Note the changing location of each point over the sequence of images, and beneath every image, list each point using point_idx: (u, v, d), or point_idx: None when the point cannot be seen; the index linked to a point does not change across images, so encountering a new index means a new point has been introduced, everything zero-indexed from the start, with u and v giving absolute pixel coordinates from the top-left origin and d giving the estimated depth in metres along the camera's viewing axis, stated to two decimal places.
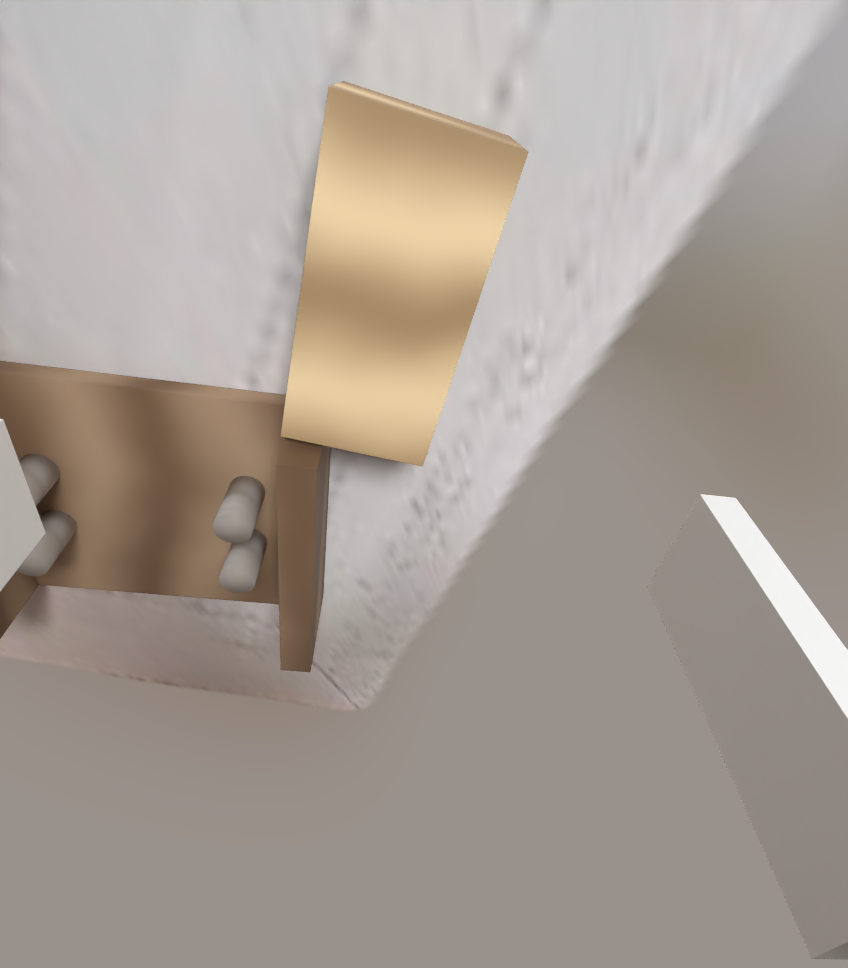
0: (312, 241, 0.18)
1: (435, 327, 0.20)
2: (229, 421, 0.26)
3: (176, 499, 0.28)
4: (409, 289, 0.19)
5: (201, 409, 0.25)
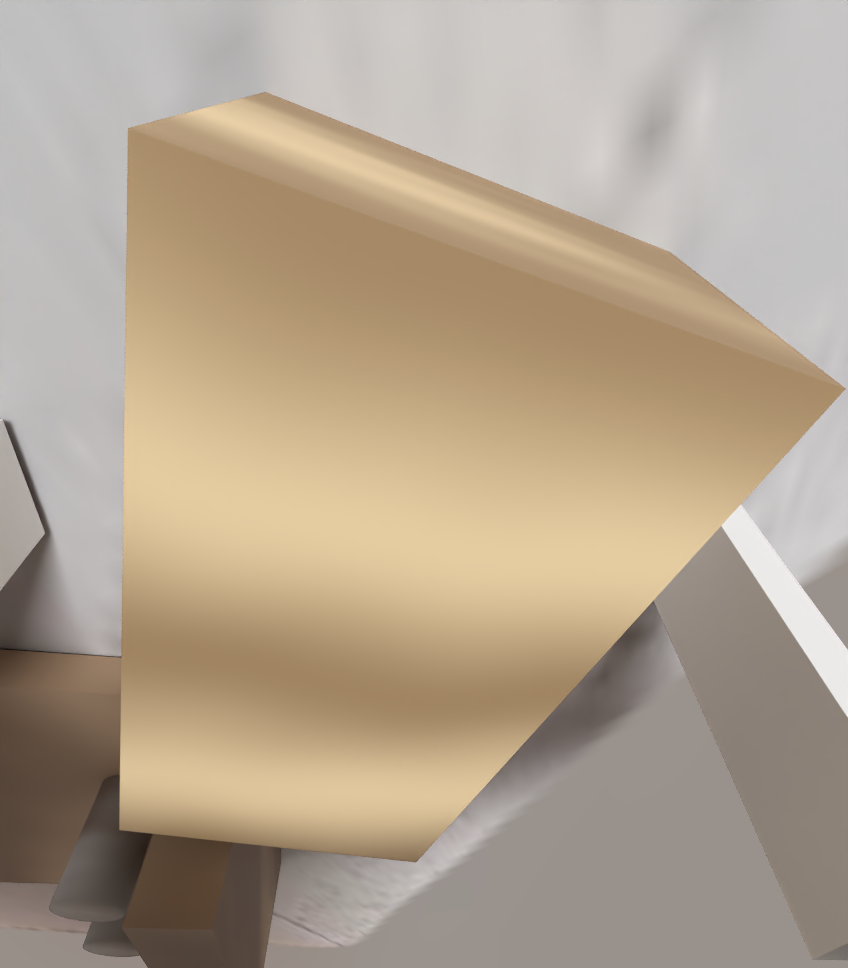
0: (139, 560, 0.06)
1: (471, 709, 0.08)
2: (79, 717, 0.14)
3: (15, 799, 0.17)
4: (413, 652, 0.07)
5: (23, 703, 0.14)
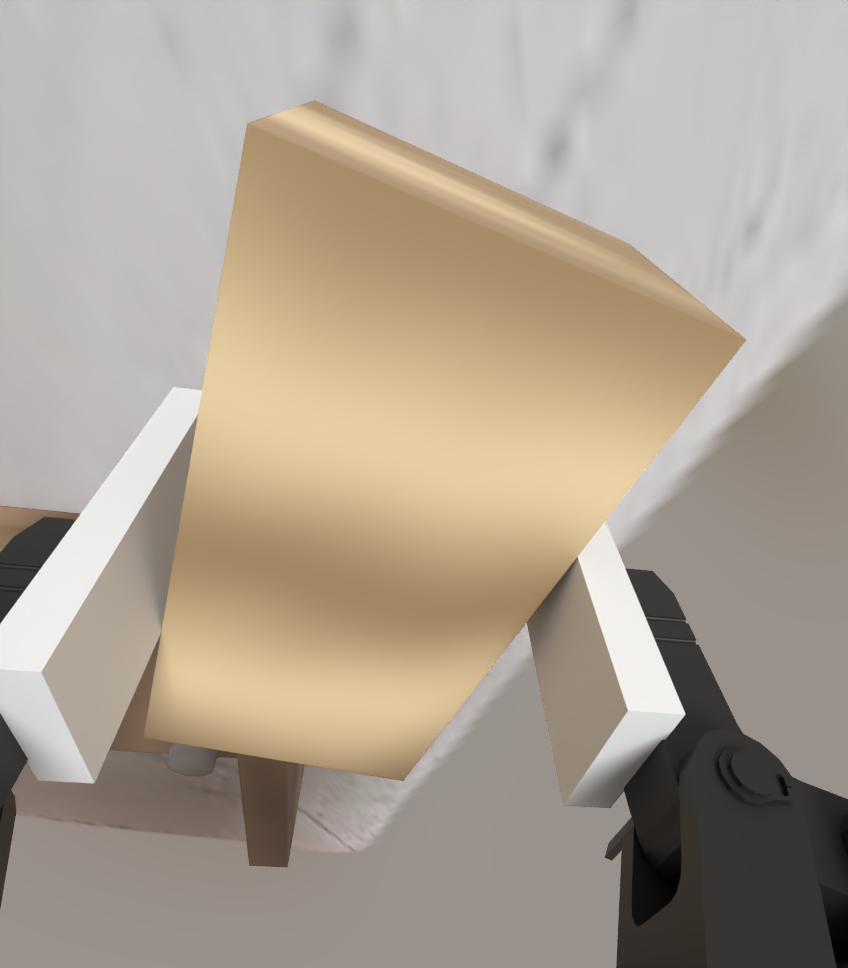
0: (203, 464, 0.08)
1: (460, 617, 0.10)
2: None
3: None
4: (414, 559, 0.09)
5: None
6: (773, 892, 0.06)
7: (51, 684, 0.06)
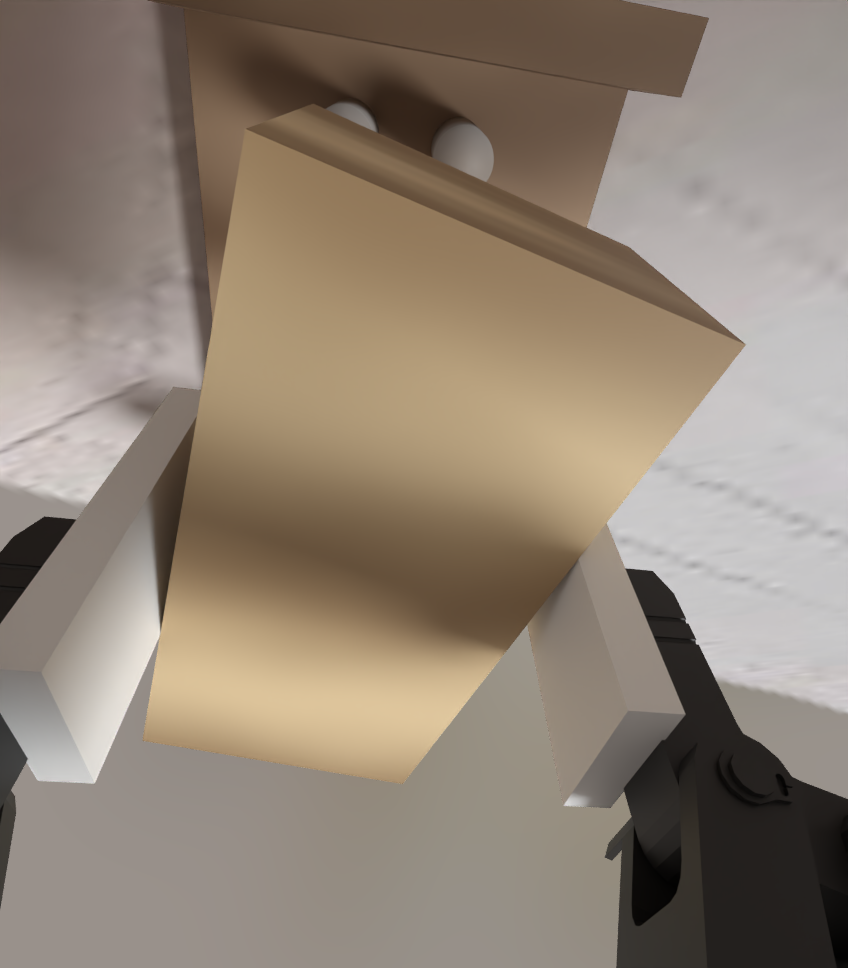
0: (201, 468, 0.08)
1: (459, 621, 0.10)
2: None
3: None
4: (413, 563, 0.09)
5: None
6: (772, 892, 0.06)
7: (51, 684, 0.06)
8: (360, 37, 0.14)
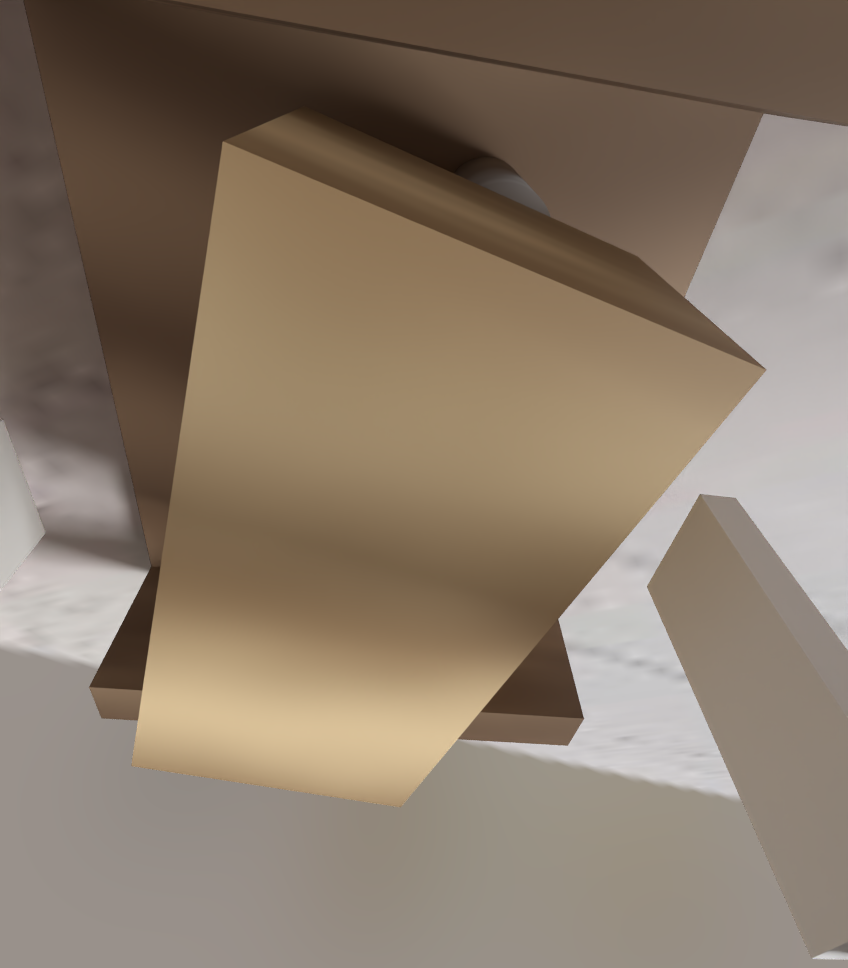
0: (185, 497, 0.07)
1: (458, 649, 0.09)
2: None
3: None
4: (410, 593, 0.08)
5: None
6: None
7: None
8: (305, 22, 0.07)
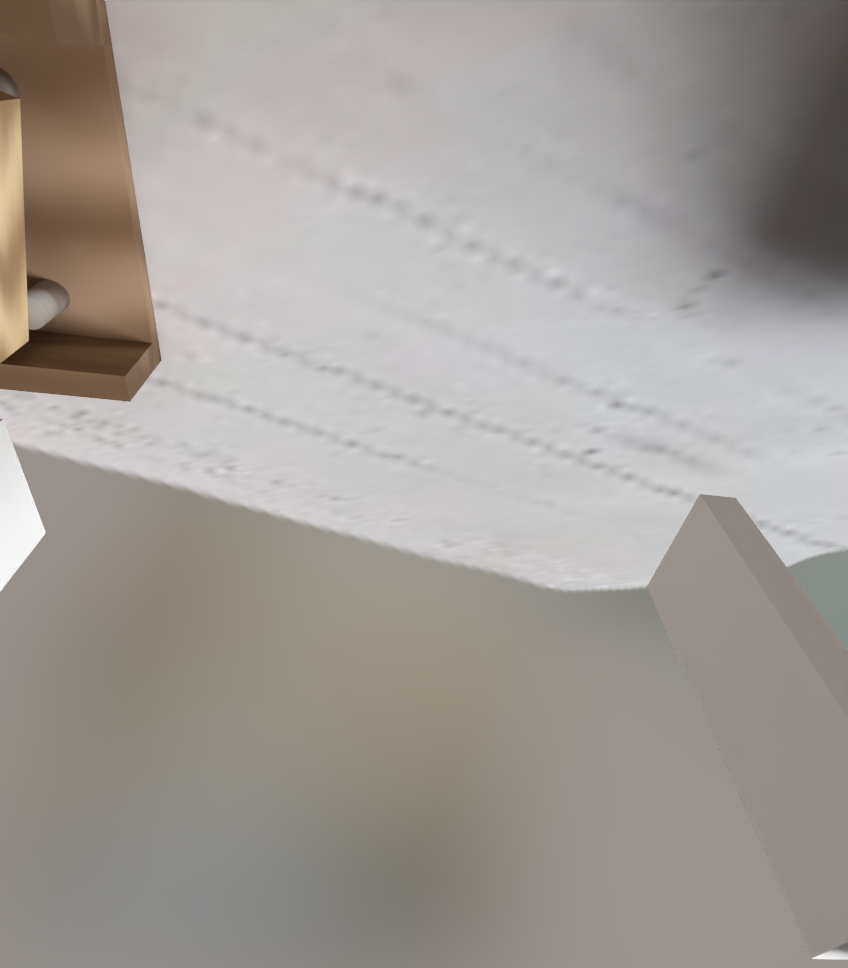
0: None
1: None
2: (123, 293, 0.33)
3: None
4: None
5: (128, 273, 0.32)
6: None
7: None
8: None
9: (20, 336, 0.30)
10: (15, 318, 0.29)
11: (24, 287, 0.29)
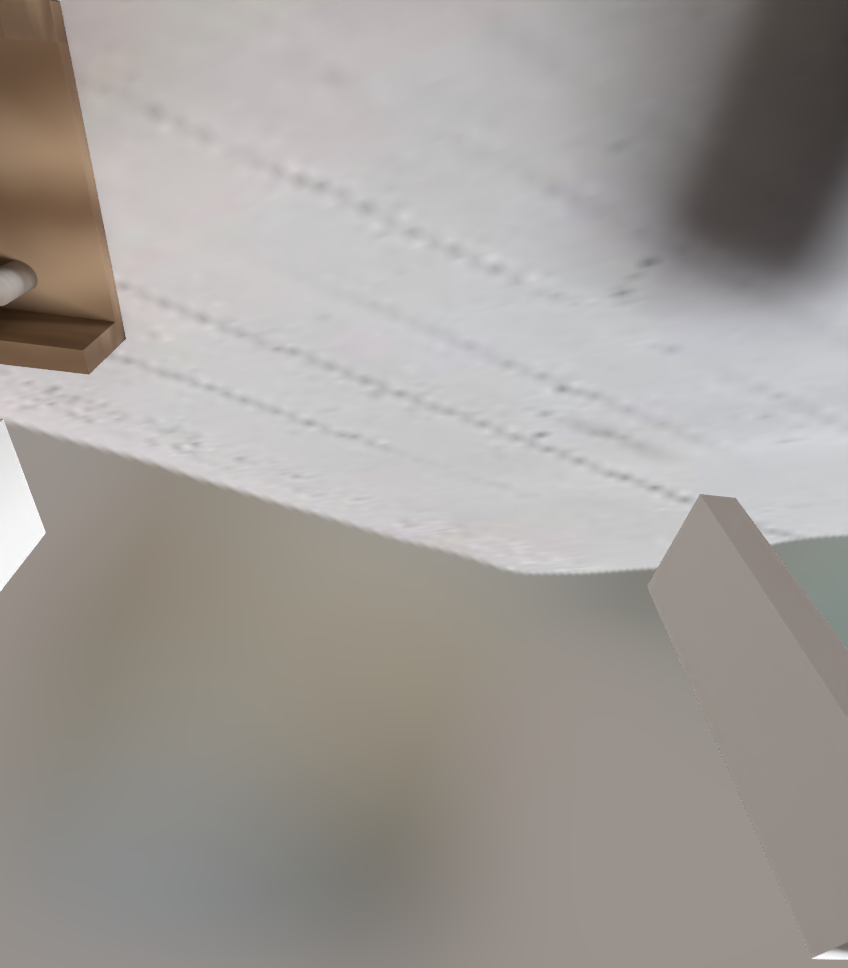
0: None
1: None
2: (86, 273, 0.35)
3: None
4: None
5: (89, 254, 0.34)
6: None
7: None
8: None
9: None
10: None
11: None
